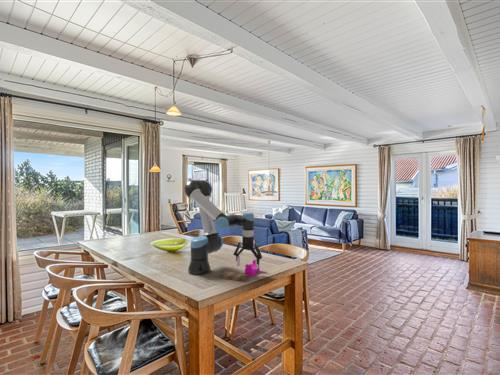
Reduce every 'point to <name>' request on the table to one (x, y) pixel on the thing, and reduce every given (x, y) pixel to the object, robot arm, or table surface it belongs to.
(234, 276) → the brown flat bar
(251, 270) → the toy block
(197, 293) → the table surface
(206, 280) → the table surface
